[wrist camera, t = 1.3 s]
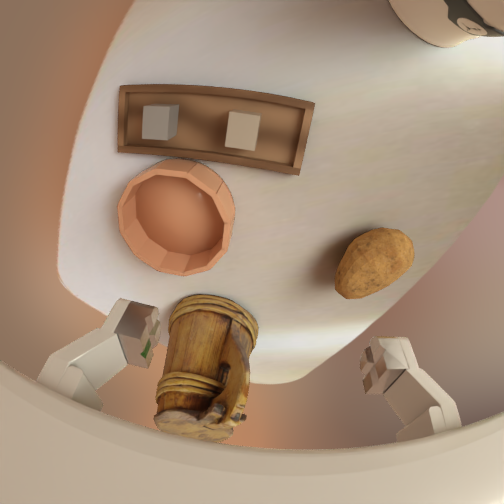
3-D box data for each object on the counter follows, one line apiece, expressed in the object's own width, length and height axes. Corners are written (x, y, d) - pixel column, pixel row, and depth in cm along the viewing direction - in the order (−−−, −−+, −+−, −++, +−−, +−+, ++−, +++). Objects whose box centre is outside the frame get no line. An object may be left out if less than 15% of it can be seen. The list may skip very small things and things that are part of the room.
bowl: (133, 153, 37) (114, 165, 32) (242, 166, 37) (236, 179, 32) (137, 245, 46) (124, 264, 42) (228, 262, 46) (223, 283, 42)
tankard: (160, 326, 58) (124, 425, 38) (209, 259, 46) (166, 393, 26) (228, 359, 63) (212, 456, 42) (293, 307, 51) (294, 435, 31)
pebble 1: (154, 103, 32) (143, 106, 29) (179, 104, 32) (169, 106, 29) (152, 133, 34) (141, 138, 31) (176, 135, 34) (167, 140, 31)
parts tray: (126, 85, 31) (119, 85, 29) (313, 102, 31) (315, 103, 30) (123, 149, 36) (117, 152, 35) (298, 171, 37) (299, 175, 35)
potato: (315, 254, 44) (321, 287, 38) (384, 202, 38) (404, 228, 31) (348, 287, 47) (356, 320, 41) (411, 242, 41) (430, 271, 35)
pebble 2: (233, 109, 32) (229, 111, 29) (261, 113, 32) (260, 116, 29) (229, 140, 34) (224, 146, 31) (256, 145, 35) (254, 151, 32)
